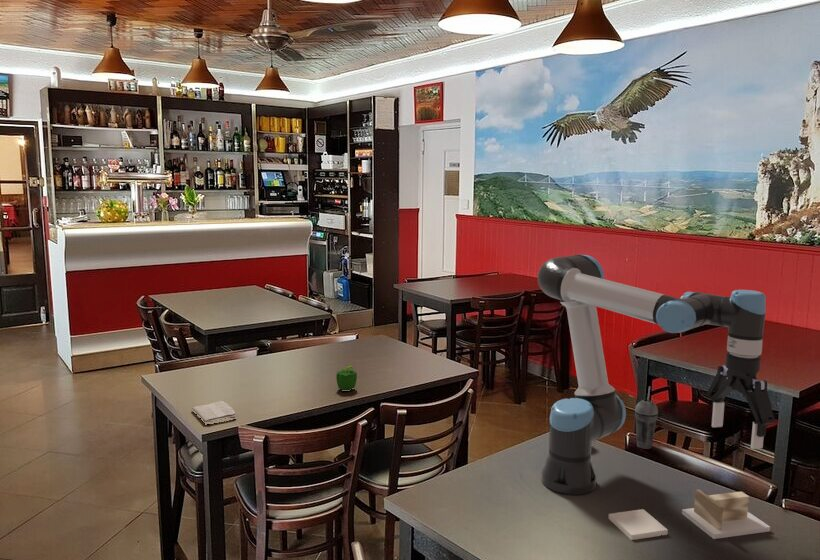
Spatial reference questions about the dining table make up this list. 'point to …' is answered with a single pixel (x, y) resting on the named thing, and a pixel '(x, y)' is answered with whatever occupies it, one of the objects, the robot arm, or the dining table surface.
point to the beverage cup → (645, 422)
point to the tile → (637, 524)
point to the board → (728, 525)
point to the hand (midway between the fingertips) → (735, 437)
